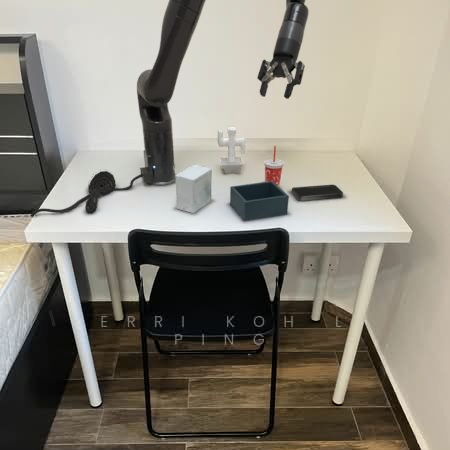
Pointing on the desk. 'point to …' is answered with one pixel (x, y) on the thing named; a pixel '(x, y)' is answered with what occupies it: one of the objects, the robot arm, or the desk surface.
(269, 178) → the beverage cup
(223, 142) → the figurine
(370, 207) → the desk surface
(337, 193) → the phone
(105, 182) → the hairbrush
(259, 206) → the tub
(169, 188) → the desk surface
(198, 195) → the cosmetics box
